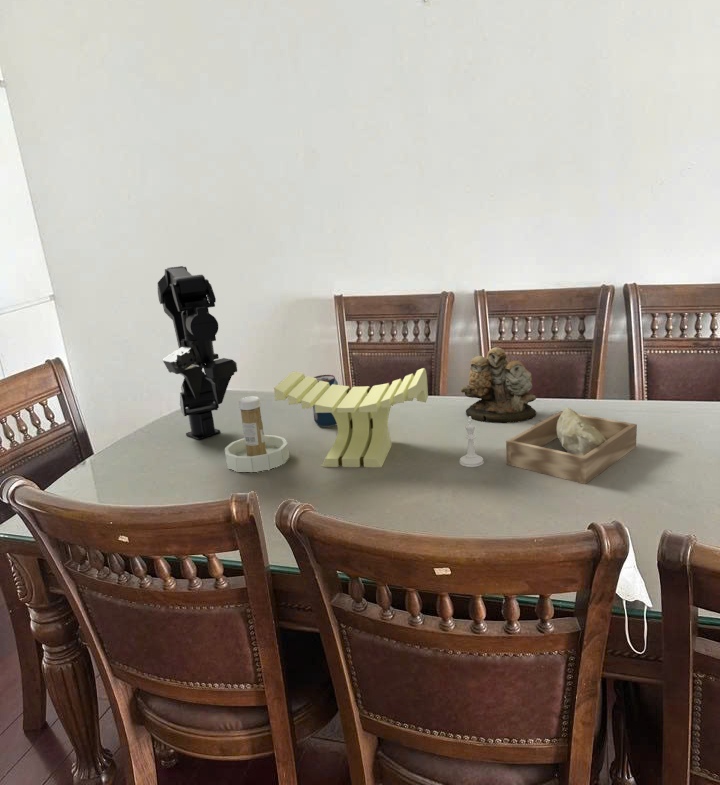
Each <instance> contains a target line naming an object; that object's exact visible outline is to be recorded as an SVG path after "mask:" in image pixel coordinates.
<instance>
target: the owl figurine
mask: <svg viewBox="0 0 720 785" xmlns="http://www.w3.org/2000/svg"><path fill="white" fill-rule="evenodd" d="M469 368H470V370H469V374H468V385H466V386H462V387H460V392H461V393H464V395H465V396H466V397H468V398H471V399H474V398H475V399H479V400H477V401H475V402H474V403H472V404H470V405H469V407H467V409H465V414H466V416H467V418H469V416H471V418H472V420H473V421H478V422H484V421H485V422H487V423H497V424H499V423H500V424H504V423H506V424H507V422H510V423H519V422H518V421H520V422H525V421H527V419H528V420H529V419H530V420H531V418H532V419H533V417H534V418H535V417H536V414H537V412H536V409H534V408H533V407H532V405H530V404H529V403H531V402H534V401H536V399H537V395H535V394H531V393H529V392H531V390H532V389H533V378H532V373H531V371H529V370H527V369H526V367H525V365H524V364H523V362H522V361H520V360H511V361H510V360H509V359H508V358H507V353H506V352H505V350H504V349H503V348H501V347H497V346H495V347H492V348H491V349H489V350H488V352H487V355H486V357H485V356H482V355H476V356H475V357H472V358H471V361H470V367H469ZM524 420H525V421H524Z"/></svg>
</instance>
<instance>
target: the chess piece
mask: <svg viewBox="0 0 720 785" xmlns="http://www.w3.org/2000/svg"><path fill="white" fill-rule="evenodd" d="M472 420H473V419H472V418H471V416H469V417H468V419H467V423H468V424H466V425H465V430H466V433H467V434H466V435H465V436H464V437H465V439H466V440H467V452H466V454H465V455H463V456H461V457H460V458H459V465H460V466H463V467H467V468H475V467H480V466H482V465H483V464H484V463H485V461H484V458H483V457H482V456H481V455H478V454H477V453H476V451H475V450H476V449H475V445H474V440H475V439H476V435H475V434H474V433H475V429H476V425H475V424H474V423H472V422H473V421H472Z"/></svg>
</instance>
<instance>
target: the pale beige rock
mask: <svg viewBox="0 0 720 785" xmlns="http://www.w3.org/2000/svg"><path fill="white" fill-rule="evenodd" d="M563 411H564V412H563V413H562V414H561V415H560V417H559V419H558V422H557V435H558V437H557V439H558V440H559V442H560V443H561V447H563V449H565V451H566V452H567V453H571V454H576V455H580V456H584V455H586V454H587V453H589V452H590V451H592V450H593V449H595V448H596V447H598V446H599V445H601V444H602V443H604V442H605V441H606V439H605V436H604V435H603V434H602V433H601V432H600V431H599V430H597V429H596V428H595V427H591V425H590V424H588V423H587V422H586V421H585V420H584V419H583V418H582V417H581V416H580V415H578V414H579V413H577V412H576V411H575V410H573V409H571V408H570V407H566V408H565V409H564V410H563Z"/></svg>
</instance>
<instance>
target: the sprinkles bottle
mask: <svg viewBox="0 0 720 785" xmlns="http://www.w3.org/2000/svg"><path fill="white" fill-rule="evenodd" d="M238 407H239V409H240V414H241V421H242V422H241V423H242V424H241V425H242V431H243V436H244V437H243V438H245V444H246V449H247V456H257V455H263V454H267V451H266V446H265V438H264V435H265V432H264V425H263V424H264V423H263V421H262V413H261V400H260V397H259V396H256V395H255V396H254V395H253V396H251V395H249V396H246V397H242V398H239V400H238Z"/></svg>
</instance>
